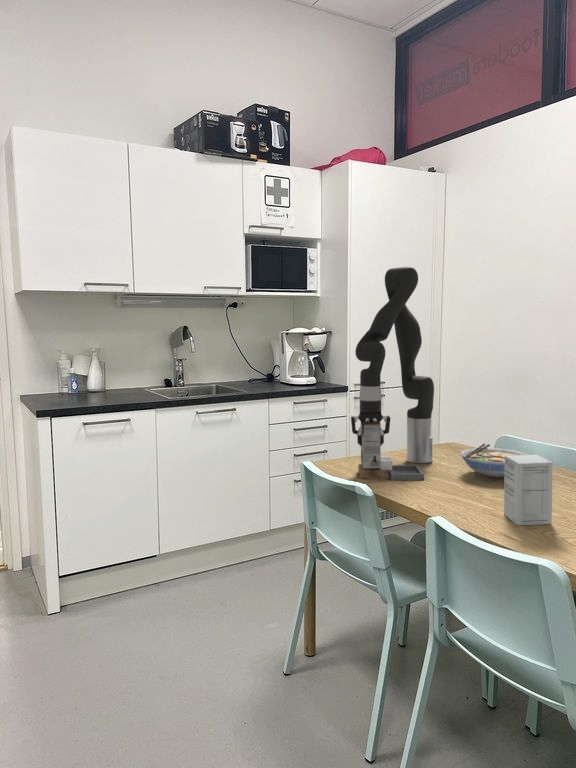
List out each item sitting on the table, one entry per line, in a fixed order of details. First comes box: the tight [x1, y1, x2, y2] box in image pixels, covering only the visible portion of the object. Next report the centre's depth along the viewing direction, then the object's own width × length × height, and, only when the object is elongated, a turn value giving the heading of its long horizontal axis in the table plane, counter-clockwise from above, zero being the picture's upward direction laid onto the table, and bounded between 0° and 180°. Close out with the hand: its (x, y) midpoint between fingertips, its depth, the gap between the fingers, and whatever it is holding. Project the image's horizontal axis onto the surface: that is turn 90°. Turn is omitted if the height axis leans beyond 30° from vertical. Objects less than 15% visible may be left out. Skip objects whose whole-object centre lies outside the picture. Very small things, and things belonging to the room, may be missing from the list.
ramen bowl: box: [460, 443, 528, 479], centre depth 200 cm, size 25×23×8 cm
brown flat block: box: [357, 463, 390, 479], centre depth 203 cm, size 10×9×3 cm
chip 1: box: [381, 455, 392, 459], centre depth 204 cm, size 4×4×3 cm
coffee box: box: [360, 421, 382, 468], centre depth 202 cm, size 9×6×16 cm
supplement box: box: [503, 454, 554, 526], centre depth 154 cm, size 10×9×17 cm
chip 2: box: [380, 458, 393, 470], centre depth 200 cm, size 4×4×3 cm
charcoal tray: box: [390, 464, 425, 481], centre depth 202 cm, size 11×13×2 cm
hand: (370, 445), depth 202 cm, fingers closed on coffee box, 6 cm apart
